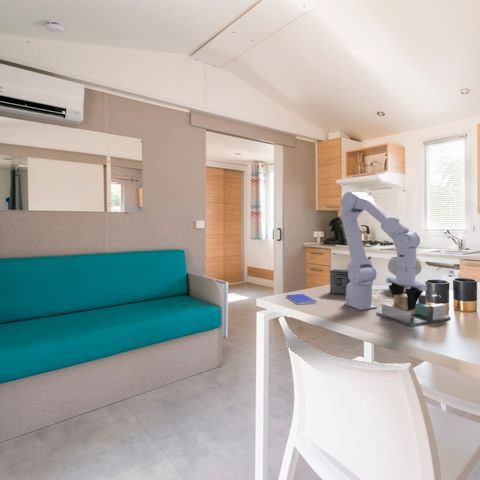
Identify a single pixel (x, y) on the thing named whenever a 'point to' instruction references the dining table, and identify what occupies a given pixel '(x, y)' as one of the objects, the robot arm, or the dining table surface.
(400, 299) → the block
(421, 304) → the ram
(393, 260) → the chalice
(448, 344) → the dining table surface
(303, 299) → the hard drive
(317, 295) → the dining table surface
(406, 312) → the press
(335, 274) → the small box
